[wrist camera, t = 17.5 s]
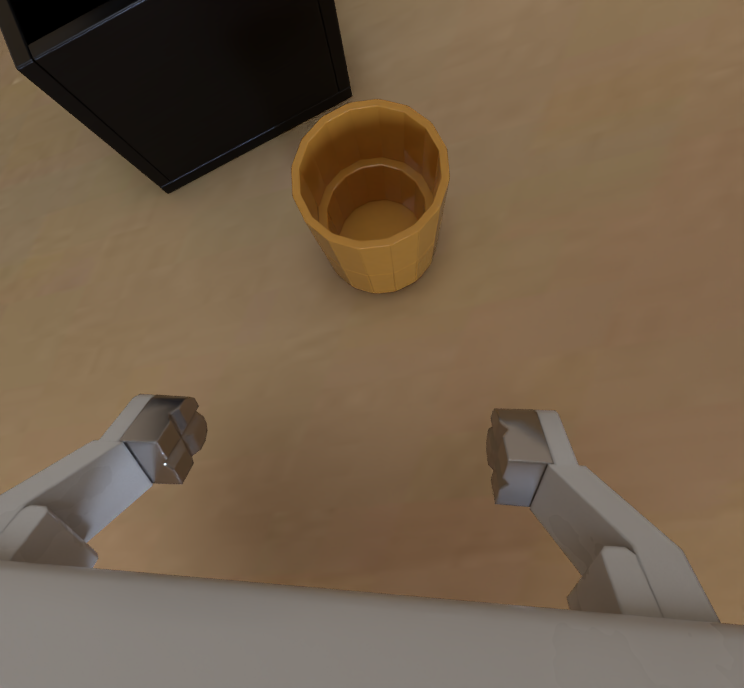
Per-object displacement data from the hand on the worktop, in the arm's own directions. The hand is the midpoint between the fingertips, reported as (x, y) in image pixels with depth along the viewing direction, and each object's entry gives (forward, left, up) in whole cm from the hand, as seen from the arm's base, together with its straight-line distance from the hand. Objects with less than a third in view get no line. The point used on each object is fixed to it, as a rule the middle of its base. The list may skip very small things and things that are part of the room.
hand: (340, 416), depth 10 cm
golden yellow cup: (+8, -5, -12) cm, 15 cm away
